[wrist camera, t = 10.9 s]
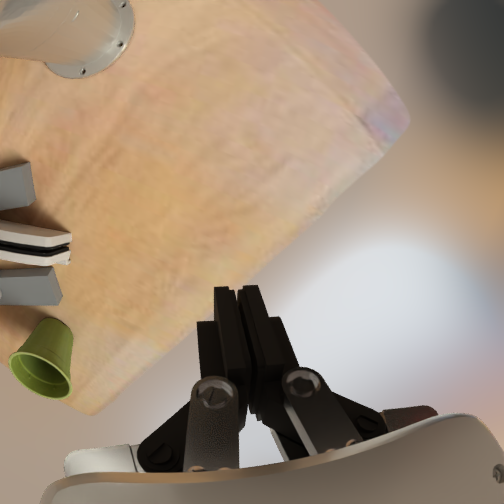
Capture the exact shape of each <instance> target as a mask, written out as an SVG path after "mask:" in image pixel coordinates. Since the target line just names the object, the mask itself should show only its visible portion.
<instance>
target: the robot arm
mask: <svg viewBox="0 0 504 504" xmlns="http://www.w3.org/2000/svg"><path fill="white" fill-rule="evenodd" d="M124 5H126V6H125V7H123V6H124ZM122 7H123V8H122ZM134 27H135V15H134V11H133V8H132V6H131V4H130V2H129V1H128V0H0V57H7V58H17V59H26V60H34V61H42V62H45V63H46V65H47V66H48V68H49V69H50V70H51V71H52V72H54V73H55V74H57V75H59V76H61V77H64V78H71V79H80V78H87V77H90V76H93V75H96V74H98V73H100V72H101V71H103V70H105V69H106V68H108V67H109V66H111V65H112V64H113V63H114V62H115V61H116V60H117V59H118V58H119V57H120V56H121V55H122V53H123V52H124V51H125V50H126V48H127V46H128V44H129V42H130V41H131V38H132V35H133V32H134ZM121 43H123V46H121V47H120V44H121ZM84 70H86V72H85V74H84V73H83V71H84ZM197 335H198V348H199V360H200V371H201V380H199V381H198V382H197V383H196V384H195V385H194V386H193V388H192V391H191V399H190V401H189V402H188V403H187V404H186V405H184V406H183V407H182V408H181V409H180V410H179V411H178V412H176V413H175V414H174V415H173V416H172V417H171V418H169V419H168V420H167V421H166V422H165V423H164V424H163V425H161V426H160V427H159V428H158V429H157V430H156V431H154V432H153V433H152V434H151V435H150V436H149V437H147V438H146V439H145V440H144V441H143V442H142V443H141V444H138V445H132V446H130V445H129V444H124V445H117V446H110V447H103V448H94V449H85V450H77V451H73V452H71V453H70V454H69V455H67V457H66V459H65V461H64V471H65V478H62V479H60V480H57V481H55V482H54V483H52V484H50V485H49V486H48V487H47V488H46V490H45V491H44V493H43V495H42V498H41V501H40V504H504V452H503V450H502V448H501V447H500V445H499V443H498V442H497V440H496V438H495V437H494V436H493V434H492V433H491V431H490V430H489V429H488V427H487V426H486V425H485V424H484V423H483V422H482V421H481V420H480V419H479V418H478V417H476V416H474V415H471V414H465V413H449V414H443V415H438V413H437V411H436V410H434V409H433V408H432V407H429V406H424V405H422V406H414V407H406V408H398V409H388V410H383V411H382V412H379V413H378V412H376V411H375V410H373V409H371V408H368V407H366V406H363V405H361V404H359V403H356V402H354V401H352V400H350V399H347V398H345V397H343V396H341V395H338V394H336V393H334V392H332V391H331V390H330V388H329V386H328V385H327V383H326V382H325V380H324V379H323V377H322V376H321V375H320V374H319V373H318V372H316V371H315V370H313V369H310V368H307V367H299V364H298V361H297V359H296V356H295V354H294V351H293V348H292V346H291V343H290V341H289V338H288V336H287V333H286V331H285V328H284V325H283V323H282V320H281V318H280V317H269V316H268V313H267V310H266V307H265V304H264V301H263V299H262V296H261V293H260V290H259V287H258V285H246V286H243V289H240V290H238V294H237V300H236V296H235V291H234V290H229V287H228V286H224V287H214V321H199V322H197ZM248 406H249V410H250V413H251V414H256V418H257V421H260V420H262V423H263V424H264V425H266V426H268V427H269V428H270V431H271V434H272V436H273V438H274V440H275V443H276V445H277V447H278V449H279V451H280V453H281V455H282V457H283V459H284V461H285V462H280V463H274V464H268V465H262V466H255V467H248V468H239V432H240V431H241V430H242V428H244V426H245V421H246V415H247V408H248Z"/></svg>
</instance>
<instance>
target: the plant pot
mask: <svg viewBox="0 0 504 504" xmlns="http://www.w3.org/2000/svg"><path fill="white" fill-rule="evenodd" d="M72 346H73V334H72V332H71V330H70V329H69V328H68V327H67V326H66V325H64V324H63V323H61V322H60V321H59V320H57V319H53V318H46V319H43V320H42V321H41V322H40V323H39V324H38V326H37V327H36V328H35V330H34V331H33V332H32V334H31V335H30V336H29V338H28V339H27V340H26V342H25V343H24V344H23V346H21V347H20V348H19V349H18V351H17V352H15V353H13V354H12V355H11V356H10V357H9V360H8V364H9V368H10V370H11V372H12V374H13V375H14V377H15V378H16V379H17V380H18V381H19V382H20V383H21V384H22V385H23V386H24V387H26V388H27V389H28V390H30V391H31V392H33V393H35V394H37V395H39V396H42V397H45V398H48V399H55V400H61V399H65V398H67V397H69V396H70V395H71V393H72V384H71V382H70V364H71V354H72Z"/></svg>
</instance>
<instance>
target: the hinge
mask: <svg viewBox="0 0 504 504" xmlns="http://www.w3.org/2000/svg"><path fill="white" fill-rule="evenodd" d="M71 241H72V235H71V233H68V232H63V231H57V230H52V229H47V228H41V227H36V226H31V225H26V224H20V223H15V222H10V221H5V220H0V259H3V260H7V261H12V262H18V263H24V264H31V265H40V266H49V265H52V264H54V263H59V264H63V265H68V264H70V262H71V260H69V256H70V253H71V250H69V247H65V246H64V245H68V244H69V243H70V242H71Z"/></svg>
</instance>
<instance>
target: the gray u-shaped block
mask: <svg viewBox="0 0 504 504" xmlns="http://www.w3.org/2000/svg"><path fill="white" fill-rule="evenodd" d="M35 200H36V196H35V191H34V185H33V179H32V173H31V166H30V162H27V163H23V164H18V165H14V166H10V167H6V168H2V169H0V210H6V209H12V208H18V207H24V206H29V205H30V204H31V203H33V202H34V201H35ZM62 297H63V295H62V292H61V289H60V286H59V284H58V281H57V278H56V274H55V271H54V268H53V267H45V268H26V269H7V270H0V305H59V303H60V301H61V299H62Z"/></svg>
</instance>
